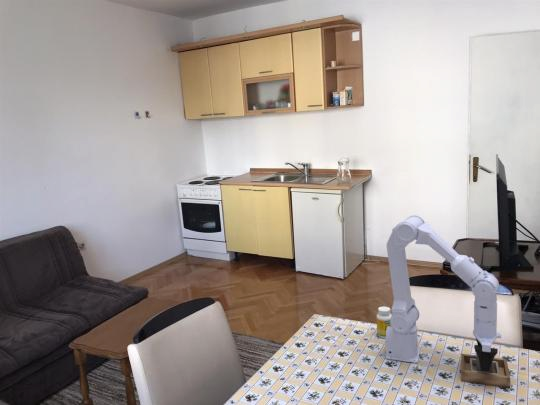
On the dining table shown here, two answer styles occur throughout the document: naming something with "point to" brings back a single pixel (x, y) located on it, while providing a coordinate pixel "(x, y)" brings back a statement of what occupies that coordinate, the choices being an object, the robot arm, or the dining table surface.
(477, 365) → the grey rectangular block
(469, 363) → the box
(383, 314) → the supplement bottle
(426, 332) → the dining table surface
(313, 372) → the dining table surface
